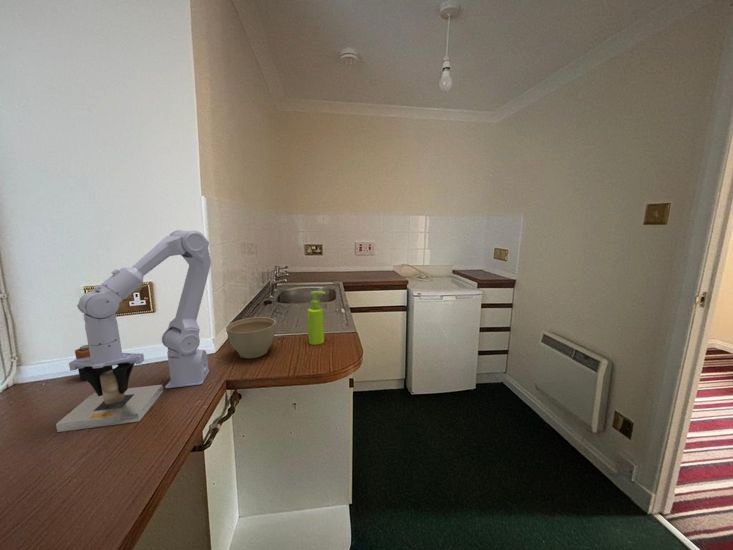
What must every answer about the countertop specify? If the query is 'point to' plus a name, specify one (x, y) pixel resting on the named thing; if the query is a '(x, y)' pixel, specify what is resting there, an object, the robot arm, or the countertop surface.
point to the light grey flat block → (111, 409)
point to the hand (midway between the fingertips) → (113, 392)
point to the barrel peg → (110, 388)
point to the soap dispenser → (316, 320)
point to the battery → (85, 353)
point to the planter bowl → (251, 336)
